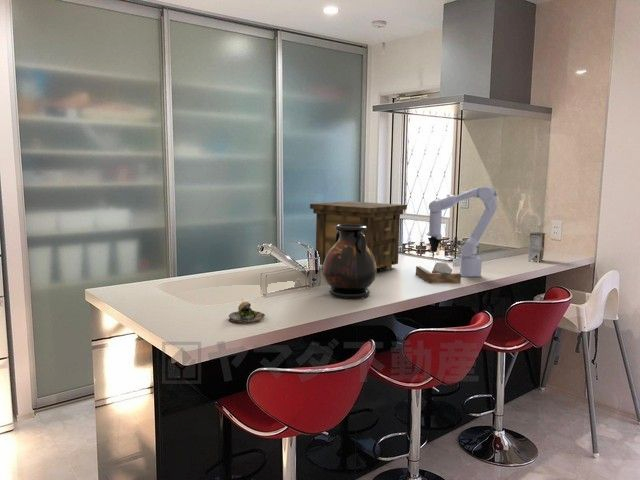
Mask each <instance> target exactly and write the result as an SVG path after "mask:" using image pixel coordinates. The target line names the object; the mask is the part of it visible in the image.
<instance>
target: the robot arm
mask: <svg viewBox="0 0 640 480" xmlns="http://www.w3.org/2000/svg"><path fill="white" fill-rule="evenodd" d="M472 198H475V199H477V198H478V199H480V200H481V201H482V203H483V205H484V208H485V209H484V210H483V212H482V214H481V216H480V217H479V219H478V221H477V223H476V225H475V227H474V229H473V230H472V232H471V234H470V236H469V238H468V239H467V240H466V241H465V243H464V244H463V245H462V246H461V247H460V251H459V252H460V254H461V255H460V268H459V271H458V272H456V273H460V274H461V277H463V278H466V277H482V259H481V257H477V255H476V254H477V252H478V250H479V249H478V248H479V247H478V246H479V244H480V241H481V239H482V237H483V236H484V234H485V231H486V230H487V229H488V226H489V225H490V223H491V221H492V219H493V217H494V215H495V213H496V212H497V210H498V193H497V191H496V190H495V188H494V187H493V186H490V185H486V186H482V187H477V188H472V189H470V190H467V191H464V192H462V193H460V194H457V195H454V194H450V193H449V194H446V196H445V197H442V198H437V200H432V201H431V202H430V203H429V205H428V210H429V222H428V223H429V225H428V226H429V227H428V228H429V229H428V233H426V236H429V237H427V239H428V242H429V244H430V245H429V246H430V251H431V252H432V253H437V251H438V247H439V245H440V242H441V241H442V213H443V212H442V211H445V210H447V209H450V208H453V207H456V206H457V204H458V203H459V202H462V201H465V200H468V199H472Z"/></svg>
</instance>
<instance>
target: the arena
mask: <svg viewBox="0 0 640 480" xmlns="http://www.w3.org/2000/svg"><path fill="white" fill-rule="evenodd" d="M415 275H416V276H418V277H419V278H421V279H422V280H423V281H425V282H427V283H428V284H430V283H431V284H436V283H437V284H441V283H442V284H443V283H445V284H447V283H448V284H450V283H452V284H454V283H455V284H457V283H458V284H459V283H461V280H462V276H461V274H460V273H457V272H451V273H450V272H440V273H432V271H429V270H427V269H426V268H424V267H422V266H420V265H416V267H415Z"/></svg>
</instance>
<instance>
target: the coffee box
mask: <svg viewBox="0 0 640 480" xmlns="http://www.w3.org/2000/svg"><path fill="white" fill-rule="evenodd" d="M545 238H546V233H544V232H537V231H533V232H531V233H529V244H528V245H529V247H528V260H533V261H541V260H542V259H543V260H544V252H545V251H544V250H545ZM541 262H542V261H541Z"/></svg>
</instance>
